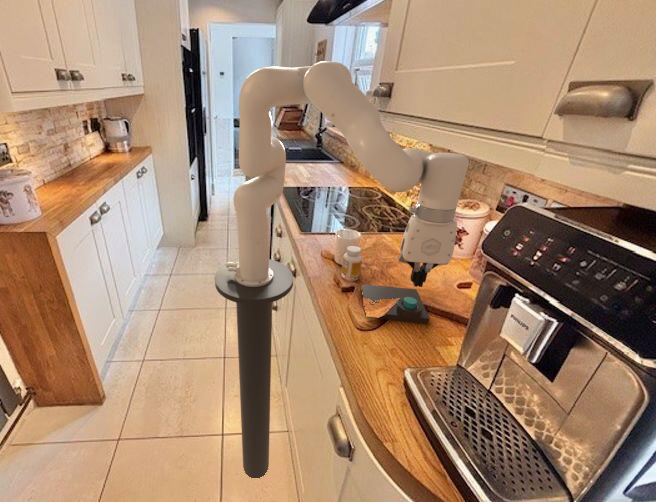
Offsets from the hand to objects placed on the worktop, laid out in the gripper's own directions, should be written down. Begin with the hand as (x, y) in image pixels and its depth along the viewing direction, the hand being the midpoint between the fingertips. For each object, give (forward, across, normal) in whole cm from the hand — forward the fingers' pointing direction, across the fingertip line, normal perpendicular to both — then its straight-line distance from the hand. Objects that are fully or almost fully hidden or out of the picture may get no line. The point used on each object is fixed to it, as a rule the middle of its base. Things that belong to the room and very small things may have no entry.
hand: (416, 283), depth 79 cm
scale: (+10, -3, +4) cm, 11 cm away
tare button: (+7, 0, 0) cm, 7 cm away
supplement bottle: (+10, -13, +17) cm, 24 cm away
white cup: (+10, -14, +27) cm, 32 cm away
